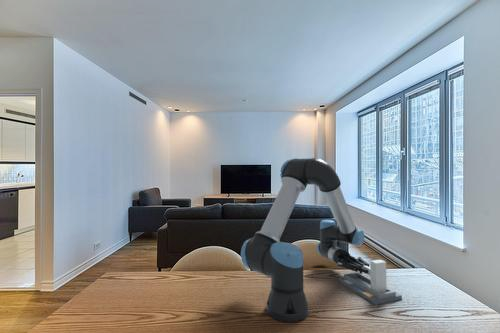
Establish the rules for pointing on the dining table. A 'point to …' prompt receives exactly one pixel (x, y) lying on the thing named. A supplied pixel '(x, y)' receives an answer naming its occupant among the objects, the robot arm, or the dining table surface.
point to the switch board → (367, 288)
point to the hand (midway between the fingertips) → (375, 274)
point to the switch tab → (378, 275)
